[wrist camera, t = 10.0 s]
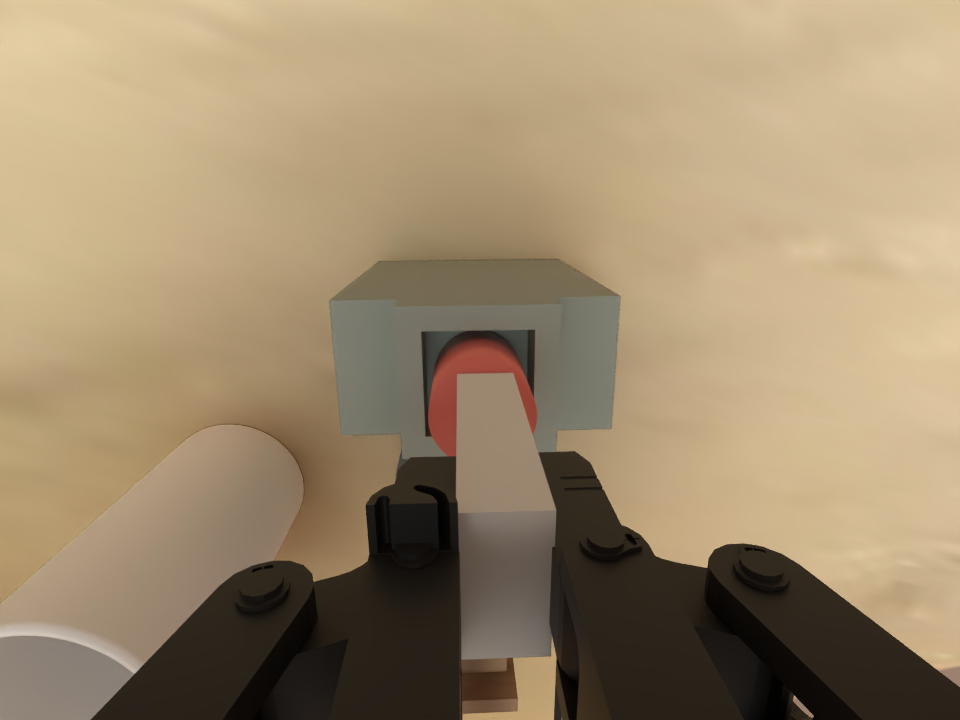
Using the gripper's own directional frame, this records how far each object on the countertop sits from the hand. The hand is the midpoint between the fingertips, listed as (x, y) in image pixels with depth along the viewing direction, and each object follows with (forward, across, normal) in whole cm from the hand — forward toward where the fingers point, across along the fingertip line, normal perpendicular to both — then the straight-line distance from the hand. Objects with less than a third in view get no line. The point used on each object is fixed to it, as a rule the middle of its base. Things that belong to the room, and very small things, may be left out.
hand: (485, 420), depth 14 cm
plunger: (+4, 0, 0) cm, 4 cm away
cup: (+17, -15, -11) cm, 25 cm away
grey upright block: (+17, 0, 0) cm, 17 cm away
